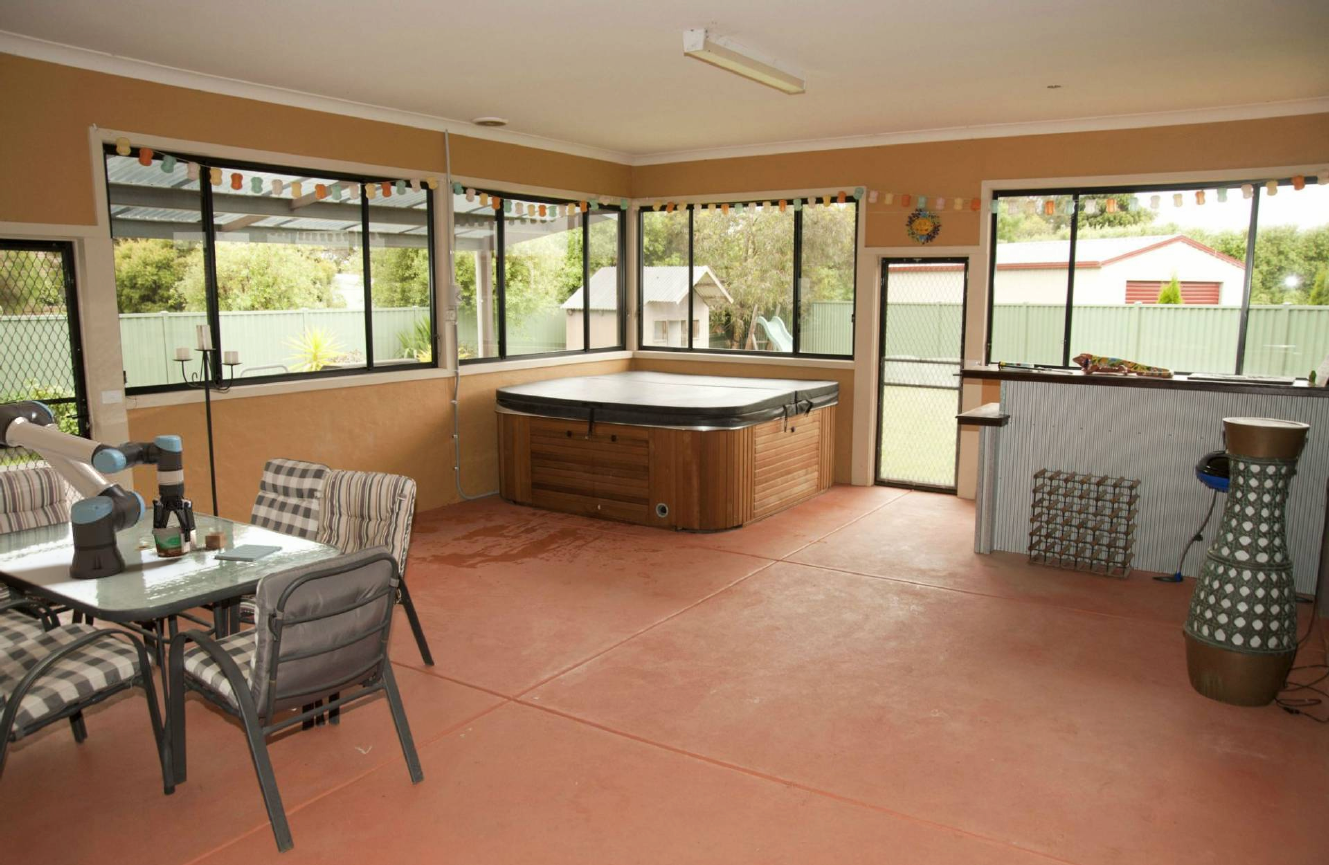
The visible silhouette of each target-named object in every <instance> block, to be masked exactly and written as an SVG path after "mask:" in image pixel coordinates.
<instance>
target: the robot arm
mask: <svg viewBox="0 0 1329 865" xmlns="http://www.w3.org/2000/svg"><path fill="white" fill-rule="evenodd" d="M0 444H2V445H5V446H9V447H13V448H14V447H18V446H21V447H22V448H24V449H26V450H33V451H35V453H36V454H38V455H39V456H40V457H41V458H42V460H44V461H45V462H46V463H47V464H48V466H50V467H51V468H52V469H53V470H54V471H55V473H57V474H58V475H59V476H60V477H62V478H63V480H64V481H66V482H67V483H68V485H70V486H71V487H72V488H73V489H74V490H75V491H77V493H78V494H79V495H81V497H82V498H83V499H80V500H78V501H76V502H74V503H72V505H71V507H70V516H69V517H70V523H71V531H72V539H73V540H72V541H73V542H72V543H73V550H74V551H73V557H72V560H71V561H72V562H71V566H70V568H69V576H70V578H73V579H79V580H80V579H81V580H85V579H86V580H87V579H89V580H90V579H98V578H103V577H104V578H105V577H109V576H110V577H111V576H113V575H117V574H120V573H123V572H124V571H125V570H126V561H125V559H124V558H123V556H122V553H121V551H120V549H119V547H118V541H117V533H119V532H122V531H124V530H126V529H131V528H133V527H134V526H135V525H137V524H139V523H140V522H141V521H142V520H143V518H144V516H145V515H146V503H145V500H144V499H143V497H142V496H141V495H140V494H139V493H137V492H135V491H133V490H132V491H131V490H125V489H124V487H122V486H121V485H120V484H119V483H117V482H114V483H113V482H109V480H108V479H106V478H105V477H104V475H110V474H116V473H119V472H121V471H125V470H129V469H131V468H134V467H139V466H149V465H150V466H156V471H157V483H159V484H158V485H157V486H158V488H157V489H158V495H159V497H160V498H155V499H153V500H152V506H153V513H152V514H153V517H152V520H153V521H152V529H153V528H157V529H163V528H166V527H168V524H169V520H170V517H171V516H170V515H171V512H173V514H174V515H175V516H176V518H177V520H178V523H179V525H180V526H181V528H182V531H183V532H181V544H182V553H184V552H187V551H188V552H191V551H190V543H189V542H190V541H191V535H190V532H191V531H193V530H195V531H196V523H195V516H194V509H193V501H192V500H187V499H185V497H184V494H185V492H186V491H185V483H184V482H183V481H184V480H185V479H184V466H183V448H182V447H183V446H182V440H181V437H180V436H179V435H176V434H175V435H173V434H171V435H170V434H169V435H168V434H166V435H158V436H156V437H155V438H154V441H133V440H131V441H123V442H120V443H119V444H118V446H112V445H109V444H105V443H102V442H99V441H95V440H91V439H88V438H85V437H83V436H82V437H81V436H77V435H74V434H70V433H68V432H64V431H61V430H58V424H56V423H55V419H54V413H53V412H52V410H51V409H50V408H49V407H48V406H47V405H46V404H44V403H42V402H41V401H36V400H22V401H21V400H20V401H17V402H14V403H13V402H11V403H5V404H0ZM102 474H104V475H102Z"/></svg>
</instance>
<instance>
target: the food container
mask: <svg viewBox="0 0 1329 865" xmlns="http://www.w3.org/2000/svg"><path fill="white" fill-rule="evenodd" d="M181 532H183V531H182V528H181V526H180V524H179V525H170V526H167V527H166V528H163V529H157V528H153V527H152V529H151V535H153V537H154V538H153V539H154V543H155V549H156V555H157V557H158V558H160V559H161V558H162V559H164V558H166V559H169V558H178V557H181V556H186V555H187V554H188V553H189V551H187V552H184V553H182V544H181Z"/></svg>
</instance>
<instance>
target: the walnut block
mask: <svg viewBox="0 0 1329 865" xmlns="http://www.w3.org/2000/svg"><path fill="white" fill-rule="evenodd" d="M204 539H205V540H204V541H205V542H204V543H205V550H206V549H219V550H222V549H223V548H226V547H227V546H228V539H227V532H226V531H217V532H216V531H213V532H209V533H208V534H205V535H204Z"/></svg>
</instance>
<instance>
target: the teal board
mask: <svg viewBox="0 0 1329 865" xmlns="http://www.w3.org/2000/svg"><path fill="white" fill-rule="evenodd" d="M281 549H282V550H283V546H281V545H278V546H277V545H275V546H274V545H264V544H263V545H261V544H246V543H245V544H241V545H239V546H237V547H235V548H231V549H229V550H226V551H223V552H220V553H219V554H218V553H217V554H216V555H214V559H215V560H229V561H242V562H244V561H246V562H256V561H258V560H261V559H263V558H264V557H267V556H270V555H272V554H274V552H275V553H277V552H279V551H282V550H281ZM276 551H277V552H276Z"/></svg>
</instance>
